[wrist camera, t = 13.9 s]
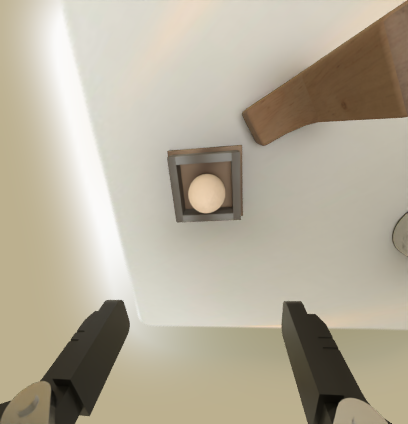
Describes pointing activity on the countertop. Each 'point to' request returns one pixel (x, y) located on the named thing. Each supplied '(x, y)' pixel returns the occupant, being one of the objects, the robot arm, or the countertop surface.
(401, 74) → the wooden block
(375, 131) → the countertop surface
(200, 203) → the egg
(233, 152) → the holder
